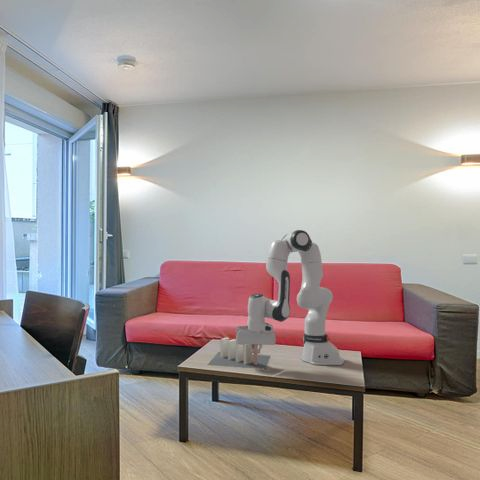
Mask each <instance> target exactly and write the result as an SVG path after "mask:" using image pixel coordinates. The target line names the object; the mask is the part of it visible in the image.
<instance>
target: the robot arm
mask: <svg viewBox="0 0 480 480" xmlns="http://www.w3.org/2000/svg"><path fill="white" fill-rule="evenodd" d="M319 247H320V246H318V244H317V243H315V242H313V240H312V239H311V237H310V235H309V233H308V232H307V231H305V230H303V229H297V230H293V231H291V232H289V233H287V234H285V235H284V236H283V237H282V238H281V240H280V239H277V240H273V241H272V243H271V245H270V247H269V249H268V250H269V251H268V254H267V257H266V262H265V263H266V265H265V269H266V272H267V273H268V274H269V275H270V276H271V277H272V278H274V279H275V280H276V281H277V283H278V295H277V296H278V297H277V300H274V299H270V298H267V297H266V296H265V295H264V294H263V293H254V294H251V295H249V298H248V302H247V314H248V315H247V325H238V326H237V327H236V328H235V334H236V336H235V337H236V338H235V339H236V343H237V344H241V345H249V347H250V349H251V353H252V354H254V348H253V347H252V345H253V346H254V345H258V346H259V348H258V353H257V354H261V350H262V349H263V346H265V345H266V346H275V345H276V344H277V343H276V340H277V339H276V334H275V332H274V326H273V324H271V323H269V322H266V321H265V318H267V319H271V320H274V321H277V322H281V323H283V322H284V321H286V320H287V319H288V318H289V316H290V314H291V305H290V295H291V294H290V291H291V290H290V289H291V276H290V275H291V274H290V272H289V271H288V261H289V256H290V254H291V253H295V252H298V254H299V256H300V258H301V259H300V262H301V263H300V264H301V275H302V277H301V278H302V280H301V285H300V286H301V287H300V290H299V292H298V293H297V296H296V303H297V306H298V307H300V308H301V309H304V310H308V312H307V315H306V316H305V318H304V332H303V339H302V340H303V350H302V354H301V359H300V360H302V361H304V362H306V363H309V364H311V365H314V366H317V365H318V366H341V365H343V364H344V363H345V360H344V358H343V357H342V356H341V354H340V351H339V349H338V348H337V346H336V345H334V344H333V343H332V342H331V341H330V340H331V337H330V335H328V334H327V333H326V319H327V314H328V311H329V307H330V304H331V303H332V302H333V298H334V296H333V292H332V291H331V290H330V289H329V288H327V287H323V286H321V281H322V279H323V277H324V272H323V261H322V255H321V251H320V248H319Z"/></svg>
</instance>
